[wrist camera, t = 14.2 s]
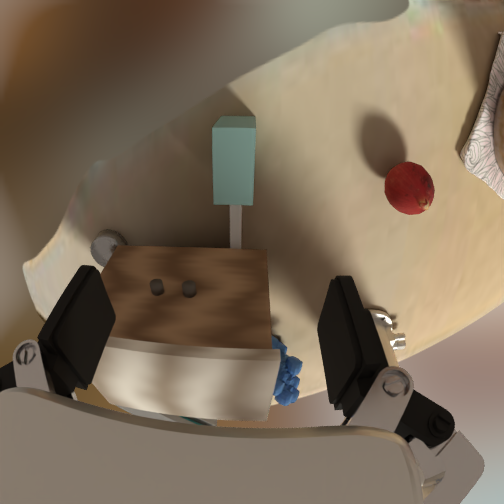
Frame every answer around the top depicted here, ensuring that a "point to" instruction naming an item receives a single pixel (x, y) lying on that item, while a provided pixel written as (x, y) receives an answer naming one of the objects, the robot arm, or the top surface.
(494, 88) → the cookie jar
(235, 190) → the sage green block
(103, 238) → the grey flat rounded lump
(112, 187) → the top surface
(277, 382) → the grapes
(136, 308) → the cabinet
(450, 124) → the top surface
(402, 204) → the onion
